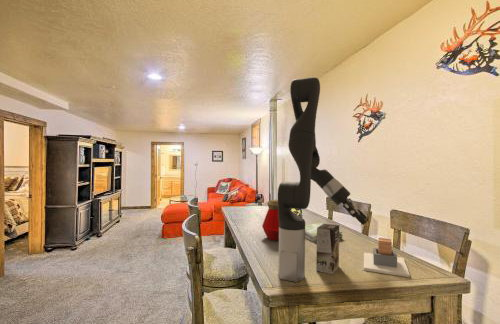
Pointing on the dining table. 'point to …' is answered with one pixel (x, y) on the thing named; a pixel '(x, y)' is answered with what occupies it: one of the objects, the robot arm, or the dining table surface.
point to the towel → (314, 232)
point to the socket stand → (385, 263)
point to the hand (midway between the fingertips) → (365, 221)
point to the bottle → (272, 221)
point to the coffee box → (327, 248)
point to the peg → (385, 246)
